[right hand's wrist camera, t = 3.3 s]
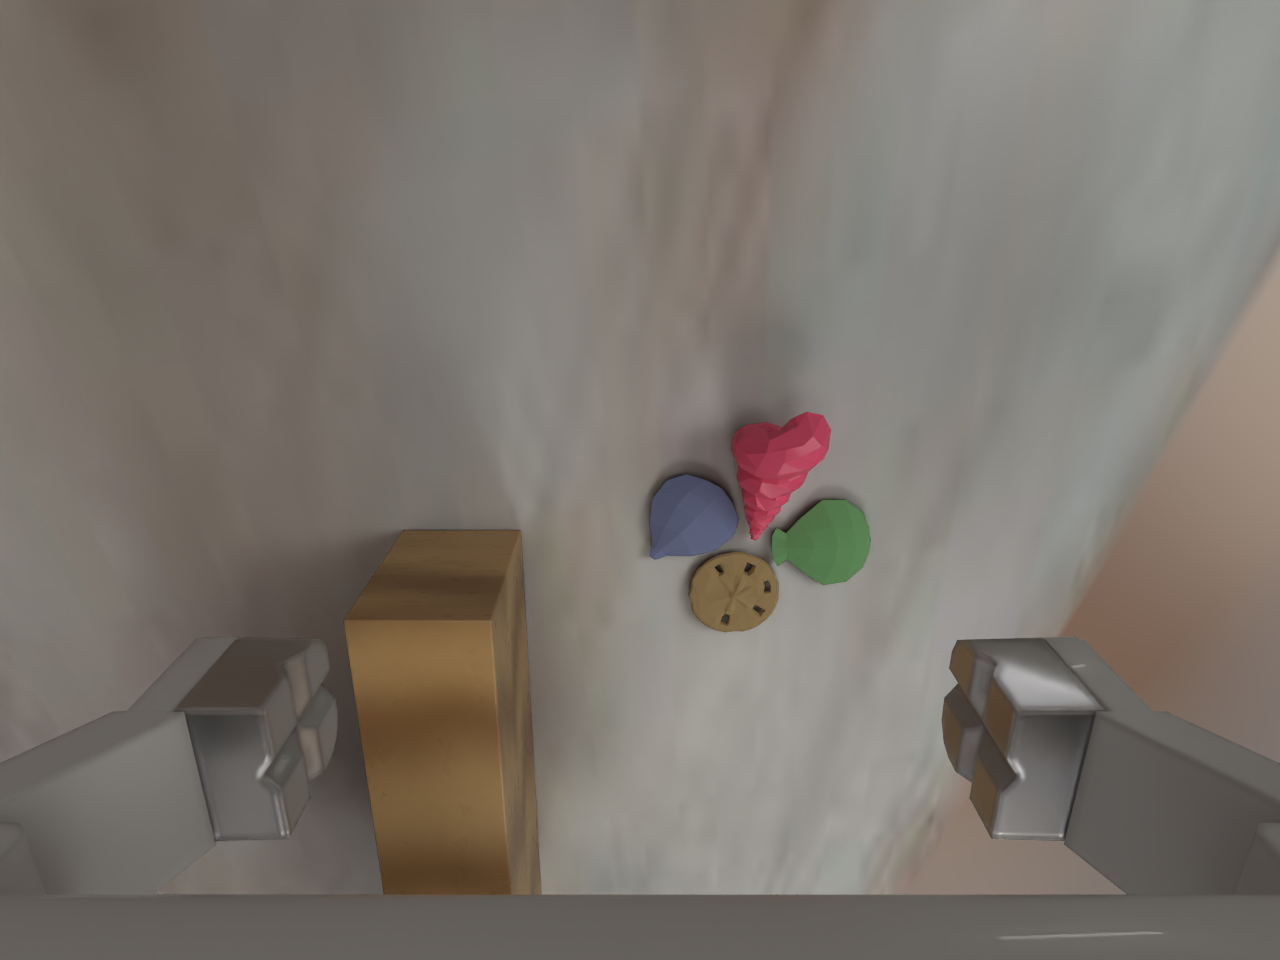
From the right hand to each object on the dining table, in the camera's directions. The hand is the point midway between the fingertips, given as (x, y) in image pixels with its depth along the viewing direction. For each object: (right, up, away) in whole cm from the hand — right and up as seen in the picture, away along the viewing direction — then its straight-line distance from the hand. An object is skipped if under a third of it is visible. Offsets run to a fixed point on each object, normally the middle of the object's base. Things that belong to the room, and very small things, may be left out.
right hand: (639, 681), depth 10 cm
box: (-9, -13, +36) cm, 39 cm away
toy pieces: (+6, 0, +31) cm, 31 cm away
